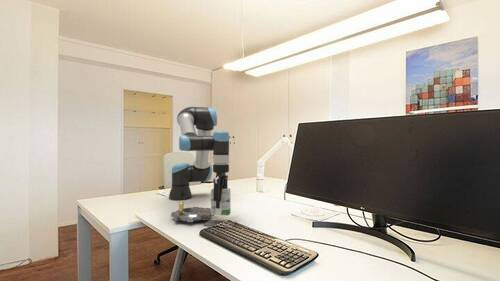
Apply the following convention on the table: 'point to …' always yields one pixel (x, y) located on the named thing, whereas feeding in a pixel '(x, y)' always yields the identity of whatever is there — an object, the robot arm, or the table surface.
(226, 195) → the ink box
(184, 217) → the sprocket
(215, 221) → the pad
